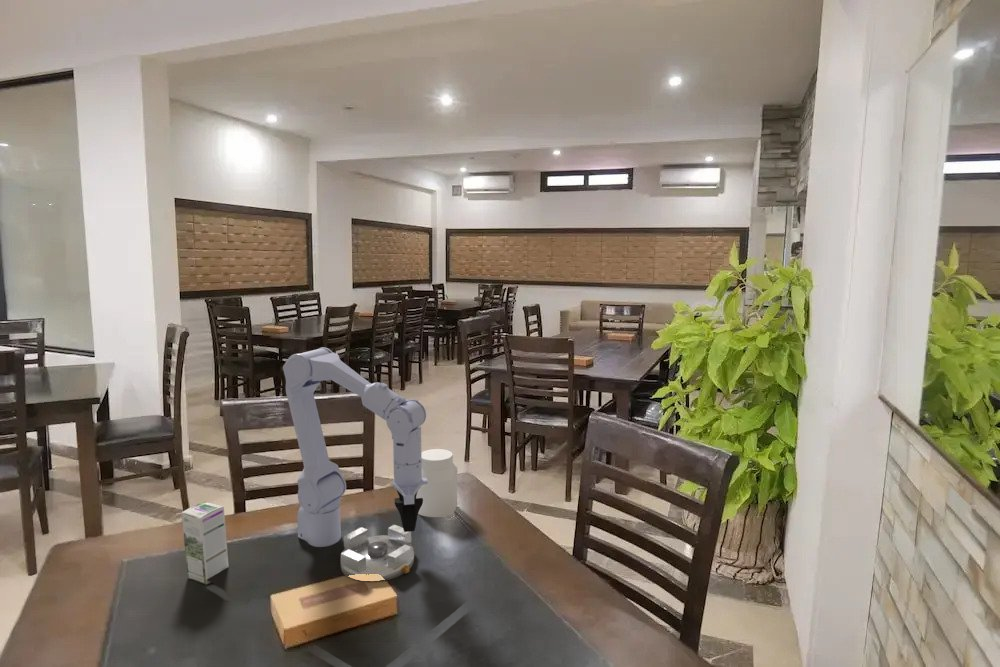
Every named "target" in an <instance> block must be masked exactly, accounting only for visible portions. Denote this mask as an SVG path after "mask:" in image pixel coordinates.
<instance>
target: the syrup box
mask: <svg viewBox="0 0 1000 667" xmlns="http://www.w3.org/2000/svg"><path fill="white" fill-rule="evenodd" d="M225 516H226V515H225V507H224V506H222V505H218V504H215V503H212V502H211V503H210V502H208V501H203V502H200V503H197V504H195V505H192V506H190V507H188V508H187V509H185V510H184V511H181V522H182V532H183V540H184V541H183V544H184V553H185V565H186V566H185V567H186V576H187V577H186V578H187V579H189V580H192V581H195V582H197V583H200V584H204V585H209V584H211V583H212V581H210V579H211V578H213V577H214V576H215V575H217V574H219V573H220V572H222V571H225V570H226V569H228V568H230V566H229V565H230V564H229V555H228V554H229V553H228V542H227V529H226V517H225Z"/></svg>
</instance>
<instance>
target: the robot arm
mask: <svg viewBox="0 0 1000 667" xmlns="http://www.w3.org/2000/svg"><path fill="white" fill-rule="evenodd" d="M282 369H283V375H284V377H285V394H286V398H287V402H288V406H289V410H290V414H291V418H292V422H293V427H294V431H295V435H296V439H297V440H296V441H297V443H298V448H299V452H300V455H301V460H302V464H303V469H302V471H301V473H300V475H299V476H298V478H297V481H296V482H297V485H298V490H297V500H298V503H299V506H300V507H299V508H298V511H297V517H296V518H297V519H296V520H297V521H296V522H297V537H298V539H301V540H303V541H305V542H306V543H307V544H308V545H310V546H312V547H314V548H315V547H316V548H323V547H325V548H326V547H330V546H333V545H335V544H336V543H338V542H339V541H340V540H341V538H342V535H341V534H342V530H341V525H342V524H341V505H340V503H341V502H342V496H343V495H345V493H346V490H347V482H346V479H345V478H344V476H343V475H342V473H341V471H340V468H339V465H338V464H337V463H335V462H332V460H330V457H329V454H328V450H327V449H328V448H327V446H326V445H327V443H326V440H325V437H324V431H323V429H322V424H321V419H320V416H319V411H318V407H317V403H316V399H315V396H314V392H315V391H316V390H317V388H318V387H319V385H320V384H321V382H322V381H332V382H334V383H336V384H338V385H339V386H341V387H343V388H345V389H347V390H348V391H350V392H351V393H353V394H355V395H356V396H359V397H360V398H361V404H362V406H364V407H365V408H366V409H368V410H369V411H371V412H372V413H374V414H375V415H376V416H378V417H380V419H383V420H385V421H386V425H387V429H389V431H390V433H391V440H392V448H393V449H392V452H393V454H392V455H393V460H392V461H393V480H392V486H393V487H394V489H396V492H397V494H398V495H397V496H398V497H394V506H395V508H396V509H397V511H398V513H399V516H400V520H401V524H402V525H401V526H402V528H403V529H404V532H410V531H411V532H415V530H416V526H417V520H418V516H419V514H418V512H419V510H420V508H421V506H422V504H423V498H416V495H417V492H418V490H419V489H420V487H421V486H422V485H424V484H427V483H428V480H427V478H422V456H421V453H422V427H421V426H422V425H423V424H424V423H425V421H426V419H427V412H426V409H425V407H424V405H423V404H422V403H420V402H419V400H417V399H413V398H412V399H406V397H404V396H403V395H399V394H398V393H396V392H394V391H393V390H392V389H390V388H389V387H388V384H386V383H385V382H378V381H377V382H373V383H371V382H370V381H369V380H367V379H366V378H364V377H363V376H362V375H360V374H359V373H358V372H356V371H355V370H354V369H352V368H351V367H350V366H349V365H347V364H346V363H345V362H343V361H342V360H341V358H340V356H339V354H338V353H336V352H333V351H332V350H331V349H330V348H327V347H319V348H317V349H313V350H308V351H305V352H302V353H294V354H292V355H290V356H289V357H288V359H286V361H285V363H284V364H283V366H282Z"/></svg>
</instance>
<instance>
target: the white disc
mask: <svg viewBox="0 0 1000 667" xmlns="http://www.w3.org/2000/svg"><path fill="white" fill-rule="evenodd" d="M343 548H344V549H343V550H342V552H341V553H340V570H341V572H342V573H343V575H344V576H346V577H347V576H349V575H355V574H366V575H367V574H368V575H369V574H379V575H381V576H382V577H383V578H384V579H385V580H386V581H389V580H392V579H396V578H398V577H400V576H402V575H403V574H408V573H410V569H412V567H413V565H414V563H415V548H414V545H413V544H412V531H410V532H404V529H403V526H402V527H401V526H399V525H396V524H392V525H391V526H389V527H387V535H386V534H385V535H383V534H382V535H372V536H369V529H367V528H366V527H365V528H364V527H363V526H362V527H358V528H357V529H355V530H353V531H351V532H349V533H348V534H345V535H343Z"/></svg>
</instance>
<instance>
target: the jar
mask: <svg viewBox="0 0 1000 667" xmlns="http://www.w3.org/2000/svg"><path fill="white" fill-rule="evenodd" d="M421 456H422V478H427V480H428V483H427V484H424V485H422V486H421V487H420V489H419V490H418V492H417V495H416V498H423V504H422V506H421V508H420V510H419V512H418V516H422V517H426V518H443V517H444V518H447V519H450V518H451V517H453V516H454V517H455V510H456V509H457V508H458V506H457V505H458V467H457V465H455V463H454V459H453V458H454V457H453V452H452V451H450V450H448V449H442V448H431V449H427V450H424V451H421ZM456 507H457V508H456ZM455 508H456V509H455ZM454 517H453V518H454ZM451 519H452V518H451Z"/></svg>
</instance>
